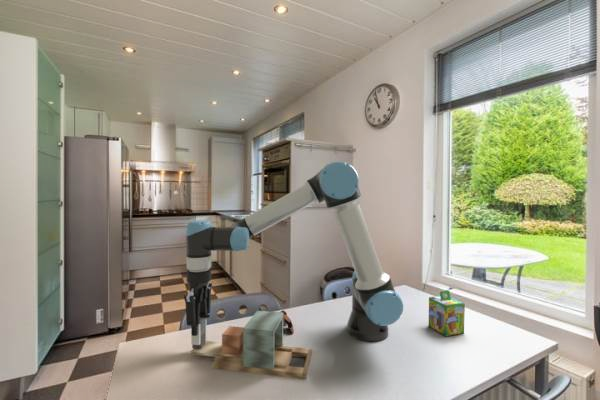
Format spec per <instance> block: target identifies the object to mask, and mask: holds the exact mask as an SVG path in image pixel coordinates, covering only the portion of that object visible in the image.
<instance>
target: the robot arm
mask: <svg viewBox="0 0 600 400" xmlns="http://www.w3.org/2000/svg"><path fill="white" fill-rule="evenodd" d="M359 181H360V179H359V175H358V172H357V170H356V169H355V168H354V166H352V165H351V164H350V163H348V162H346V161H345V162H344V161H333V162H330V163H328V164H326V165H325V166H323V168H321V169H320V170H319V171H318V172H317V173H316V174H315V175H313V176H312V177H310V178H309V179H307V180H305V183H304V185H302V186H299V187H298V188H297V189H295V190H292V191H291V192H289V193H287V194H285V195H284V196H282V197H280V198H278V199H276V200H275V201H272V202H270V203H269V204H267V205H266V206H265V205H264V207H262V208H260V209H258V210H256V211H255V212H253V213H251V214H249V215H247V216H245V217H244V218H242V219H240V220H238V221H237V222H234V223H232V224H231V225H229V226H221V227H218V226H213V225H212V222H211V221H209V220H191V221H189V222H188V223H187V224H186V234H185V239H186V244H185V245H186V259H185V260H186V269H187V270H186V283H188V284H189V293H188V294H185V295H184V296H183V299H184V302H185V303H184V304H185V317H186V318H185V319H186V320H185V321H186V326H188V327H189V326H191V330H190V331H191V332H190V333H191V335H190V338H191V339H190V340H191V343H190V344H191V345H200V344H201V324H199V318H206V319H210V316H211V315H210V313H211V302H212V301H211V297H212V287H213V283H211V282H210V281H211V280H212V269H211V267H212V251H216V252H217V251H219V252H220V251H224V252H225V251H228V252H230V251H233V252H239V251H246V250H248V249H249V244H250V239H251V238H253V237H255V236H256V235H258V234H260V233H262V232H264V231H266V230H268V229H269V228H271V227H273V226H275V225H277V224H279V223H281V222H282V221H283V220H285V219H288V218H290V217H291V216H293V215H295V214H296V213H298V212H300V211H302V210H305V209H306V208H308V207H310V206H312V205H313V204H317V205H318V204H321V203H322V202H325V205H326V208H327V210H329V211H332V212H333V214H334V216H335V219H336V222H337V224H338V228H339V230H340V233H341V236H342V239H343V242H344V244H345V246H346V250H347V253H348V256H349V259H350V261H351V264H352V266H353V269H354V271H353V273H352V278H351V280H352V281H351V282H352V286H351V289H352V290H351V291H352V294H351V296H352V297H351V298H352V299H351V303H352V304H351V305H352V306H351V308H352V309H351V311H350V315H349V318H348V321H347V322H346V323H347V327H346V328H347V329H346V330H347V333H348V334H349V335H350V336H352V337H353V338H356V339H358V340H362V341H366V342H380V341H382V340H383V341H384V340H386V339H387V338H388V336H389V326H390V325H393V324H395V323H396V322H397V321H398V320H399V319H401V315H402V314H403V311H404V302H403V300H402V298H401V296H400V294H398V293H397V292H396V290H395V287H394V284H393V282H392V279H391V276H390V274H388V273H387V272H384V271H383V268H382V265H381V261H380V259H379V257H378V254H377V251H376V248H375V245H374V242H373V240H372V236H371V234H370V231H369V228H368V225H367V222H366V219H365V217H364V214H363V212H362V208H361V205H360V202H361V200H362V193H361V191H360V188H359V183H360V182H359ZM209 282H210V283H209Z"/></svg>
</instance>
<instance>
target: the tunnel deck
mask: <svg viewBox="0 0 600 400" xmlns="http://www.w3.org/2000/svg"><path fill="white" fill-rule="evenodd" d="M280 312H281V311H265V310H256V311H255V313H254V314H253V316H252V317H251V318H250V319H249V320H248V321H247V323H246V324H245V325H244V326H243V327H244V328H243V358H235V357H226V356H216V357H214V361H213V362H212V369H217V370H224V371H233V372H239V373H240V372H241V373H249V374H250V373H251V374H256V375H259V374H260V375H265V376H275V377H284V378H292V379H293V378H294V379H301V380H306V379H307V375H308V372H309V368H310V362H311V359H312V354H313V353H312V352H313V351H312V350H313V349H312V348H307V347H296V346H286V345H285V346H284V326H283V313H280Z"/></svg>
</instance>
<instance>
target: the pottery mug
mask: <svg viewBox="0 0 600 400" xmlns="http://www.w3.org/2000/svg"><path fill="white" fill-rule="evenodd" d="M279 312H280V313H283V328H284V327H287V328H288V329H290V332H291V335H294V333H295V329H294V324H293V322H292V320H291V318H290V317H289V316H288V313H287V311H285V310H284V309H283V310H281V311H279Z"/></svg>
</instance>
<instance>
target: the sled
mask: <svg viewBox="0 0 600 400" xmlns="http://www.w3.org/2000/svg"><path fill="white" fill-rule="evenodd" d="M199 324H201V344H200V345H192V344H191V345H192V347H191V348H192V349H191V350H190V352H189V353H190V355H195V356H204V357H214V358H215V357H216V356H226V357H235V358H243V328H244V327H245V326H243V327H242V326H234V325H233V326H228V327H227V328H226V330H224V332H223V333H222V335H221V342H220V341H210V340H206V339H207V318H201V317H199Z"/></svg>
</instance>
